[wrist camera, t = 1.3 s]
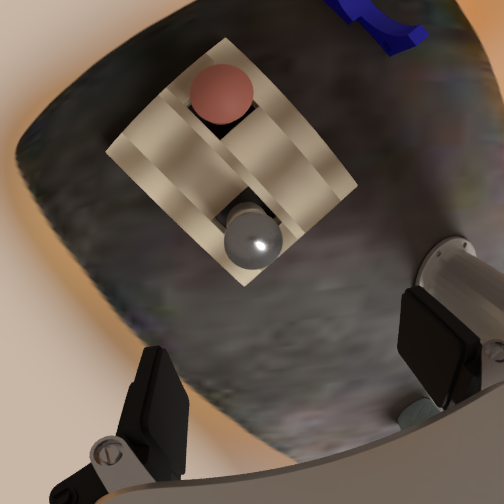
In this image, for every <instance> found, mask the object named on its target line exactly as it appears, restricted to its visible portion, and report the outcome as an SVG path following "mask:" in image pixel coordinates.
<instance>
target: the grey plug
mask: <svg viewBox="0 0 504 504" xmlns="http://www.w3.org/2000/svg"><path fill="white" fill-rule="evenodd" d="M226 225H227V229H226V231H225V235H224V248H225V252H226V254H227V256H228V258H229V259H230V260H231V261H232V262H233V263H234V264H235V265H237V266H239V267H241V268H244V269H248V270H257V269H261V268H264V267H267V266H268V265H270V264H271V263H273V262H274V261H275V260H276V258H277V257H278V256H279V254H280V252H281V249H282V245H283V236H282V232H281V230H280V228H279V226H278V225H277V223H276V222H275V221H274V220H273V219H272V218H271V217H269V216H268V215H267V214H266V213H265V211H264V210H263V209H262V208H261V207H260V206H259V205H257V204H255V203H252V202H242V203H239V204H237V205H235V206H234V207H233V208H232V209H231V210H230V212H229V213H228V216H227V220H226Z"/></svg>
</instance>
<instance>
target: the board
mask: <svg viewBox="0 0 504 504" xmlns="http://www.w3.org/2000/svg"><path fill="white" fill-rule="evenodd" d="M217 64H228V65H232V66H235V67H237V68H239V69H241V70H242V71H243V72H245V73H246V74H247V76H248V77H249V78H250V80H251V82H252V85H253V90H254V95H253V100H252V103H251V105H252V106H253V107H254V108H255V110H254V111H253V112H252V113H251V114H250V115H248V116H247V117H246V118H245V119H244V120H243V121H241V122H240V123H239V124H238V125H237V126H236V127H235V128H234V129H232V130H231V131H230V132H229V133H228V134H227V135H226V136H225V137H224V138H222V139H221V140H219V139H218V138H217V137H216V136H215V135H214V134H213V133H212V132H211V131H210V130H209V129H208V128H207V127H206V126H205V125H204V124H203V123H202V122H201V121H200V120H199V119H198V118H197V117H196V116H195V115H194V114H193V113H192V112H191V111H190V110H189V109H188V107H189V106H190V105H191V101H190V88H191V85H192V82H193V80H194V79H195V77H196V76H197V75H198V74H199V73H200V72H201V71H202V70H204V69H206V68H207V67H210V66H213V65H217ZM106 153H107V154H108V155H109V156H110V157H111V158H112V159H113V160H114V161H115V162H116V163H117V164H118V165H119V166H120V167H121V168H122V169H123V170H124V171H125V172H126V173H127V174H128V175H129V176H130V177H131V178H132V179H133V180H134V181H135V182H136V183H137V184H138V185H139V186H140V187H141V188H142V189H143V190H144V191H145V192H146V193H147V194H148V195H149V196H150V197H151V198H152V199H153V200H154V201H155V202H156V203H157V204H158V205H159V206H160V207H161V208H162V209H163V210H164V211H165V212H166V213H167V214H168V215H169V216H170V217H171V218H172V219H173V220H174V221H175V222H176V223H177V224H178V225H179V226H180V227H181V228H183V229H184V230H185V231H186V232H187V233H188V234H189V235H190V236H191V237H192V238H193V239H194V240H195V241H196V242H197V243H198V244H199V245H200V246H201V247H202V248H203V249H204V250H206V251H207V252H208V253H209V254H210V255H211V256H212V257H213V258H214V259H215V260H216V261H217V262H218V263H219V264H220V265H221V266H222V267H224V268H225V269H226V270H227V271H228V272H229V273H230V274H231V275H232V276H233V277H234V278H235V279H236V280H237V281H239V282H240V283H241V284H242V285H243V286H246V285H247V284H248V283H249V282H250V281H251V280H252V279H254V278H255V277H256V276H257V275H258V274H259V273H260V272H262V271H263V270H264V269H265V268H266V267H264V268H261V269H257V270H248V269H244V268H241V267H239V266H237V265H235V264H234V263H233V262H232V261H231V260H230V259H229V258H228V256H227V254H226V252H225V248H224V235H225V231H226V228H225V227H224V226H223V225H222V224H221V223H220V222H219V221H218V220H217V219H216V218H215V216H216V215H217V214H219V213H220V212H221V211H222V210H223V209H224V208H225V207H226V206H227V205H228V204H229V203H230V202H231V201H232V200H233V199H235V198H236V197H237V196H238V195H239V194H240V193H241V192H242V191H243V190H244V189H245V188H246V187H248V186H249V187H250V188H251V189H252V190H253V191H254V192H255V193H256V194H257V196H258V197H259V198H260V199H261V200H262V201H263V202H264V203H265V204H266V205H267V206H268V207H269V208H270V210H271V211H272V212H273V213H274V214H275V215H276V217H275V218H274V219H273V220H274V221H275V222H276V223H277V225H278V226H279V228H280V230H281V232H282V236H283V245H282V249H281V252H280V254H279V256H280V255H281V254H282V253H283V252H284V251H286V250H287V249H288V248H289V247H290V246H291V245H292V244H293V243H295V242H296V241H297V240H298V239H299V238H300V237H301V236H303V235H304V234H305V233H306V232H307V231H308V230H309V229H310V228H311V227H313V226H314V225H315V224H316V223H317V222H318V221H319V220H320V219H322V218H323V217H324V216H325V215H326V214H327V213H328V212H329V211H330V210H332V209H333V208H334V207H335V206H336V205H337V204H338V203H339V202H340V201H342V200H343V199H344V198H345V197H346V196H347V195H348V194H349V193H350V192H351V191H353V190H354V189H355V188H356V187H357V186H358V185H357V183H356V182H355V181H354V179H353V178H352V177H351V175H350V174H349V173H348V171H347V170H346V169H345V167H344V166H343V165H342V163H341V162H340V161H339V160H338V158H337V157H336V156H335V154H334V153H333V152H332V151H331V149H330V148H329V147H328V146H327V144H326V143H325V142H324V141H323V140H322V138H321V137H320V136H319V135H318V134H317V132H316V131H315V130H314V129H313V128H312V126H311V125H310V124H309V123H308V122H307V121H306V119H305V118H304V117H303V116H302V115H301V114H300V112H299V111H298V110H297V109H296V108H295V107H294V106H293V105H292V104H291V102H290V101H289V100H288V99H287V98H286V97H285V96H284V95H283V94H282V93H281V92H280V90H279V89H278V88H277V87H276V86H275V85H274V84H273V83H272V82H271V81H270V80H269V79H268V78H267V77H266V76H265V75H264V74H263V73H262V72H261V71H260V70H259V69H258V68H257V67H256V66H255V65H254V64H253V63H252V62H251V61H250V60H249V59H248V58H247V57H246V56H245V55H244V54H243V53H242V52H241V51H240V50H239V49H238V48H236V47H235V46H234V45H233V44H232V43H231V42H230V41H229V40H228V39H227V38H224V39H223V40H222V41H220V42H219V43H218V44H216V45H215V46H214V47H213V48H211V49H210V50H209V51H208V52H206V53H205V54H204V55H203V56H201V57H200V58H199V59H198V60H197V61H195V62H194V63H193V64H192V65H191V66H190V67H188V68H187V69H186V70H185V71H184V72H183V73H182V74H180V75H179V76H178V77H177V78H176V79H175V80H174V81H173V82H172V83H170V84H169V85H168V86H167V87H166V88H165V89H164V90H163V91H162V92H161V93H160V94H159V95H158V96H157V97H156V98H155V99H154V100H153V101H152V102H151V103H150V104H149V105H148V106H147V107H146V108H145V109H144V110H143V111H142V112H141V113H140V114H139V115H138V116H137V117H136V118H135V119H134V120H133V121H132V122H131V123H130V124H129V125H128V127H127V128H126V129H125V130H124V131H123V132H122V133H121V134H120V135H119V137H118V138H117V139H116V140H115V141H114V142H113V143H112V145H111V146H110V147H109V148H108V149H107V150H106ZM279 256H278V257H279ZM278 257H277V258H278ZM268 266H269V265H268Z"/></svg>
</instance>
